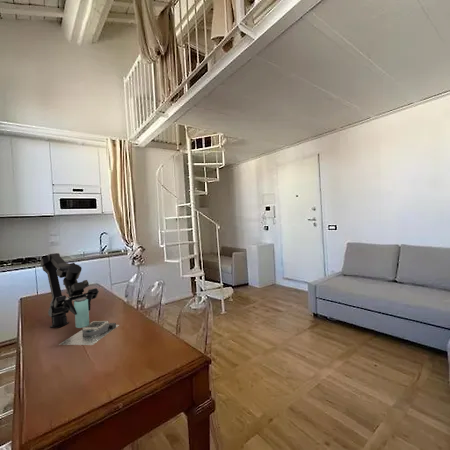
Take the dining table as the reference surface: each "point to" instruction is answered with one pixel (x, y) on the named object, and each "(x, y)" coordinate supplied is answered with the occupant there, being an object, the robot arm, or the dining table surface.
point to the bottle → (81, 312)
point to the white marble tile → (90, 333)
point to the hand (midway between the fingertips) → (83, 312)
